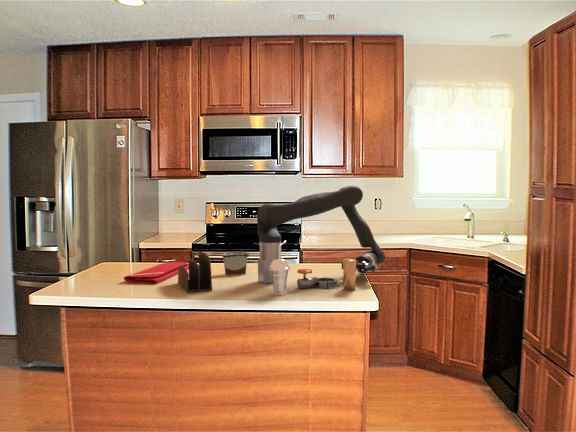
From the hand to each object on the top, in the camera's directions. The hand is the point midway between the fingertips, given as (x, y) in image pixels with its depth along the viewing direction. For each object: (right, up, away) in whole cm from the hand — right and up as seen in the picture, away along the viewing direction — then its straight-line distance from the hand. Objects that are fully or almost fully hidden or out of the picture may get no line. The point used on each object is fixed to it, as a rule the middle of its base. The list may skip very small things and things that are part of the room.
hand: (354, 269), depth 206 cm
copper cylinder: (-3, -7, -6) cm, 10 cm away
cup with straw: (-31, -8, -13) cm, 34 cm away
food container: (-52, -5, +26) cm, 59 cm away
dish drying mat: (-86, -6, +25) cm, 90 cm away
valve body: (-16, -7, -1) cm, 17 cm away
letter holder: (-66, -8, -2) cm, 66 cm away
